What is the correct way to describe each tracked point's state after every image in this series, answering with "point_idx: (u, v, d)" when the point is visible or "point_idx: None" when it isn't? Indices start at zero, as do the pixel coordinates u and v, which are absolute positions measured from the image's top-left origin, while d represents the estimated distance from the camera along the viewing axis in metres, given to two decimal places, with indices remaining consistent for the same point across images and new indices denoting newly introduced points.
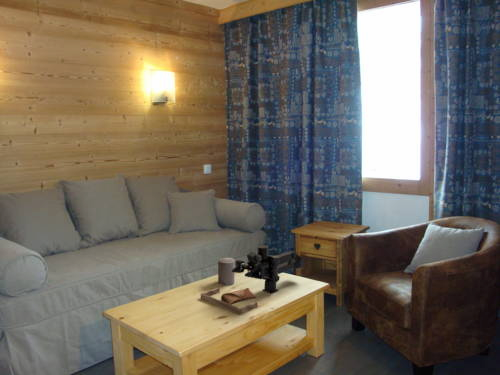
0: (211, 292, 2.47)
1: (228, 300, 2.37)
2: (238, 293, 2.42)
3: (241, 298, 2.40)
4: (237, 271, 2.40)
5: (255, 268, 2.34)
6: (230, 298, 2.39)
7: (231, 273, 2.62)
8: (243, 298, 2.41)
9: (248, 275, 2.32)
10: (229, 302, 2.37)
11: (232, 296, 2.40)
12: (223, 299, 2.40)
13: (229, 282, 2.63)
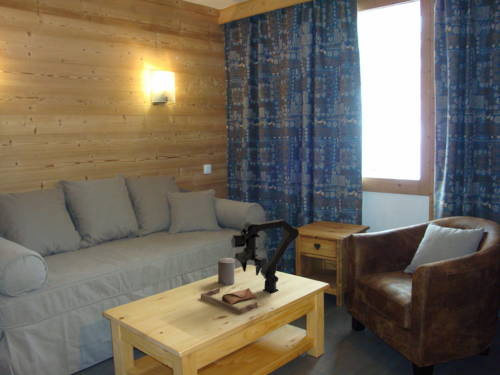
0: (211, 292, 2.47)
1: (229, 301, 2.37)
2: (239, 293, 2.41)
3: (242, 299, 2.39)
4: (245, 263, 2.52)
5: (256, 265, 2.41)
6: (231, 298, 2.38)
7: (231, 273, 2.62)
8: (244, 298, 2.40)
9: (258, 272, 2.45)
10: (230, 303, 2.36)
11: (233, 297, 2.39)
12: (224, 300, 2.39)
13: (229, 282, 2.63)
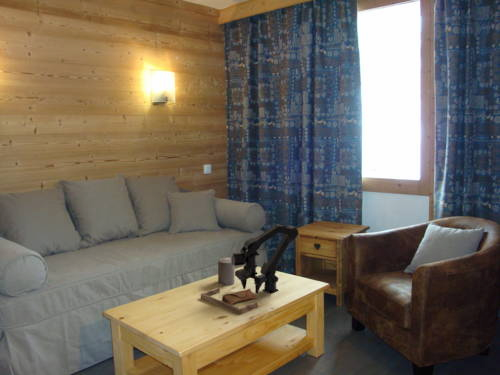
0: (211, 292, 2.47)
1: (229, 301, 2.36)
2: (239, 294, 2.41)
3: (242, 299, 2.39)
4: (245, 281, 2.53)
5: (255, 284, 2.43)
6: (231, 299, 2.38)
7: (231, 273, 2.62)
8: (244, 299, 2.39)
9: (258, 290, 2.46)
10: (230, 303, 2.35)
11: (233, 297, 2.39)
12: (224, 300, 2.39)
13: (229, 282, 2.63)
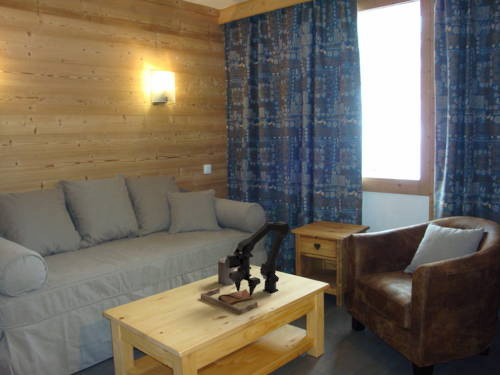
0: (211, 292, 2.47)
1: (225, 301, 2.36)
2: (235, 294, 2.40)
3: (238, 300, 2.38)
4: (239, 283, 2.50)
5: (249, 286, 2.39)
6: (227, 299, 2.37)
7: None
8: (240, 300, 2.39)
9: (252, 292, 2.43)
10: None
11: (229, 297, 2.38)
12: (220, 300, 2.38)
13: (229, 282, 2.63)
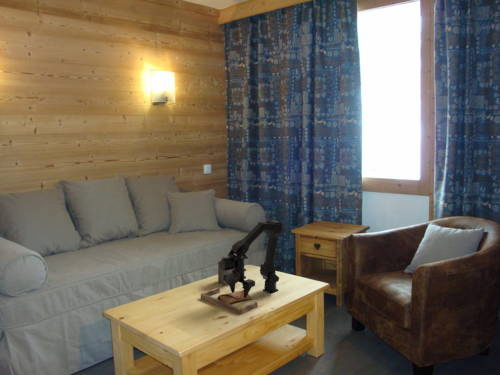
0: (211, 292, 2.47)
1: (224, 301, 2.36)
2: (234, 294, 2.40)
3: (237, 300, 2.38)
4: (234, 285, 2.47)
5: (244, 288, 2.36)
6: (226, 299, 2.37)
7: None
8: (239, 300, 2.39)
9: (246, 294, 2.40)
10: None
11: (228, 297, 2.38)
12: None
13: None
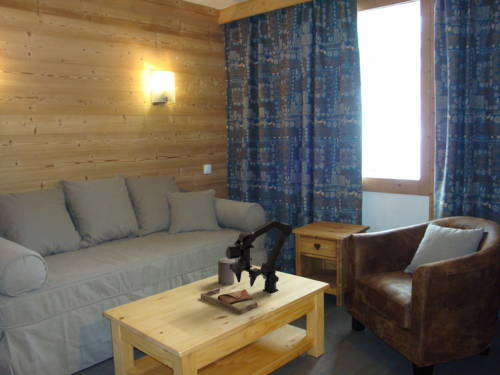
0: (211, 292, 2.47)
1: (224, 301, 2.36)
2: (234, 294, 2.40)
3: (237, 299, 2.38)
4: (240, 274, 2.50)
5: (250, 277, 2.39)
6: (226, 299, 2.37)
7: (231, 273, 2.62)
8: (239, 299, 2.39)
9: (252, 283, 2.42)
10: None
11: (228, 297, 2.38)
12: None
13: (229, 282, 2.63)
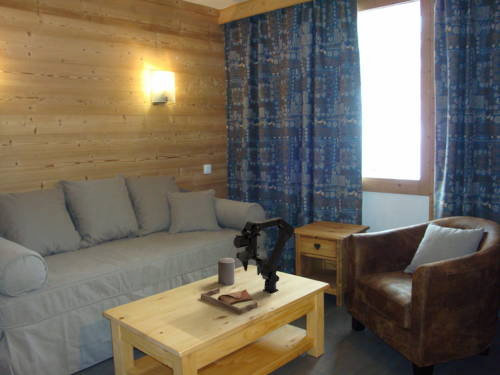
0: (211, 292, 2.47)
1: None
2: (235, 295, 2.40)
3: (238, 300, 2.38)
4: (247, 263, 2.48)
5: (257, 265, 2.38)
6: (226, 299, 2.36)
7: (231, 273, 2.62)
8: (240, 300, 2.38)
9: (259, 272, 2.41)
10: None
11: (229, 298, 2.38)
12: None
13: (229, 282, 2.63)
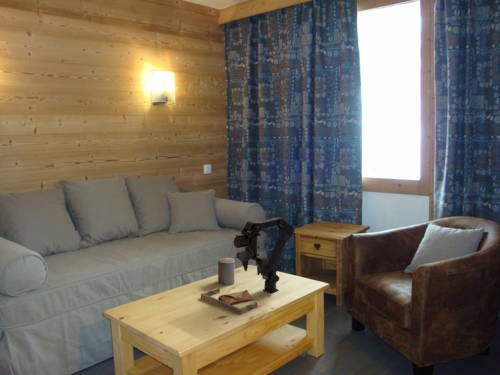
0: (211, 292, 2.47)
1: (225, 302, 2.35)
2: (235, 295, 2.39)
3: (238, 300, 2.37)
4: (247, 263, 2.48)
5: (257, 265, 2.38)
6: (227, 300, 2.36)
7: (231, 273, 2.62)
8: (240, 300, 2.38)
9: (259, 271, 2.41)
10: None
11: (229, 298, 2.37)
12: None
13: (229, 282, 2.63)
